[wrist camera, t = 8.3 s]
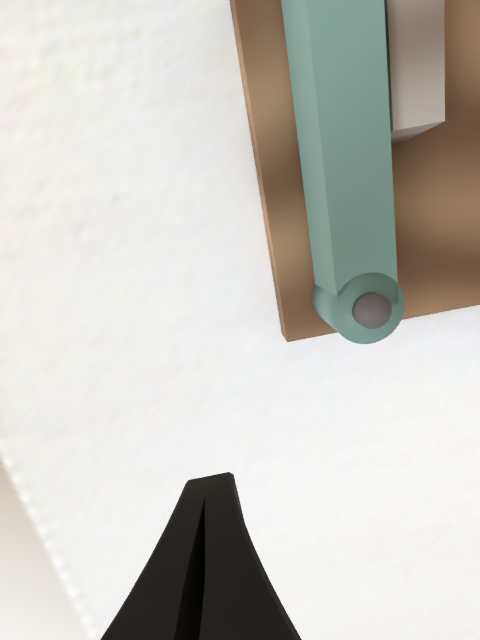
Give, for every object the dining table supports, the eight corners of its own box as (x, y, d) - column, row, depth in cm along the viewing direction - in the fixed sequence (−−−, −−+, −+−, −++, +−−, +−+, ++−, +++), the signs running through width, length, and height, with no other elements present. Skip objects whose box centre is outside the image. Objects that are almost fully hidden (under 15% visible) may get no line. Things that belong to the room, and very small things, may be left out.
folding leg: (373, 318, 16) (413, 340, 13) (315, 329, 16) (340, 354, 13) (347, -35, 12) (395, -137, 9) (272, -21, 12) (291, -118, 9)
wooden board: (588, 273, 18) (704, 285, 14) (281, 333, 18) (301, 364, 14) (630, -86, 14) (817, -233, 9) (228, -10, 14) (230, -124, 9)
